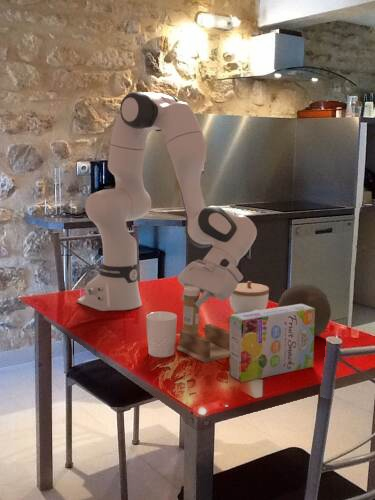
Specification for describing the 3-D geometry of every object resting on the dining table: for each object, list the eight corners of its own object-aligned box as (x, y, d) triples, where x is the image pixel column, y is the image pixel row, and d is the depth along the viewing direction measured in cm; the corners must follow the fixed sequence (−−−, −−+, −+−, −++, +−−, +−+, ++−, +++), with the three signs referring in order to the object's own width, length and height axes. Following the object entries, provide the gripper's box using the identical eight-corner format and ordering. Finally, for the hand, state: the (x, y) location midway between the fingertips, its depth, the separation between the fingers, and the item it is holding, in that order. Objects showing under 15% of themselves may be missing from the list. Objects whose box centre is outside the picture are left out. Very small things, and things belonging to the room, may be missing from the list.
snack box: (299, 360, 146) (301, 302, 143) (313, 367, 141) (316, 308, 138) (227, 375, 136) (229, 313, 133) (240, 383, 131) (242, 319, 128)
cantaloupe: (310, 326, 173) (313, 277, 170) (339, 341, 160) (342, 288, 157) (269, 331, 168) (271, 281, 165) (295, 347, 155) (297, 293, 152)
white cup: (149, 359, 145) (149, 321, 143) (143, 349, 152) (143, 312, 151) (180, 357, 147) (180, 319, 145) (172, 346, 154) (172, 310, 153)
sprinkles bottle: (201, 335, 163) (203, 288, 160) (188, 337, 160) (189, 290, 158) (192, 330, 166) (194, 285, 164) (179, 332, 164) (180, 286, 161)
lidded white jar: (250, 307, 193) (251, 275, 191) (276, 317, 183) (277, 282, 181) (220, 313, 186) (221, 280, 184) (245, 323, 176) (246, 288, 174)
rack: (176, 349, 153) (177, 330, 152) (209, 341, 159) (209, 322, 158) (204, 362, 143) (205, 342, 142) (238, 353, 150) (238, 334, 149)
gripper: (190, 251, 171) (162, 288, 167) (235, 264, 155) (206, 305, 151) (201, 265, 175) (174, 300, 171) (247, 279, 159) (218, 319, 155)
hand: (189, 303), depth 161 cm, fingers closed on sprinkles bottle, 4 cm apart
